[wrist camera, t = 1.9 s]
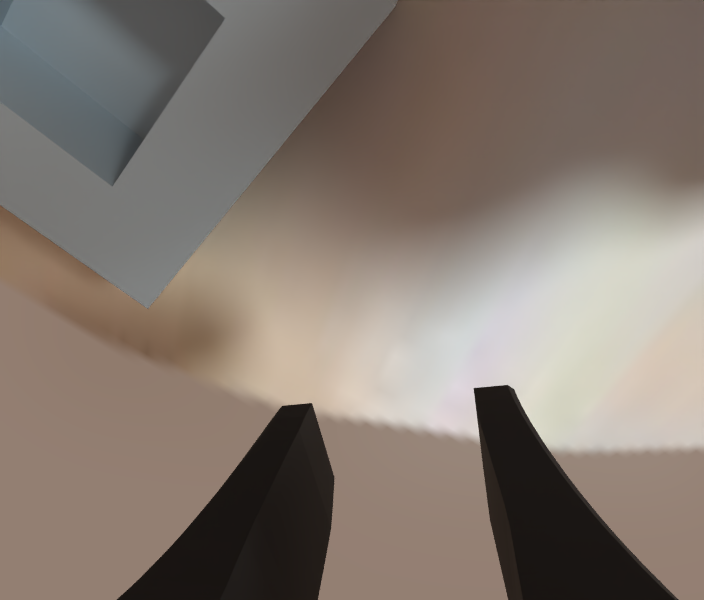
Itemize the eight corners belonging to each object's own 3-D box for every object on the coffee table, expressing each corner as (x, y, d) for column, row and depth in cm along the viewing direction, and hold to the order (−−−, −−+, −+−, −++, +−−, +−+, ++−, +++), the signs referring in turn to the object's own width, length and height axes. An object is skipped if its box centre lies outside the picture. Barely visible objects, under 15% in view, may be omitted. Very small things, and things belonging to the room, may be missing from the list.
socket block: (399, -5, 15) (395, 6, 12) (194, 246, 19) (147, 309, 16) (58, -356, 12) (-81, -478, 9) (-91, 30, 17) (-222, 49, 13)
